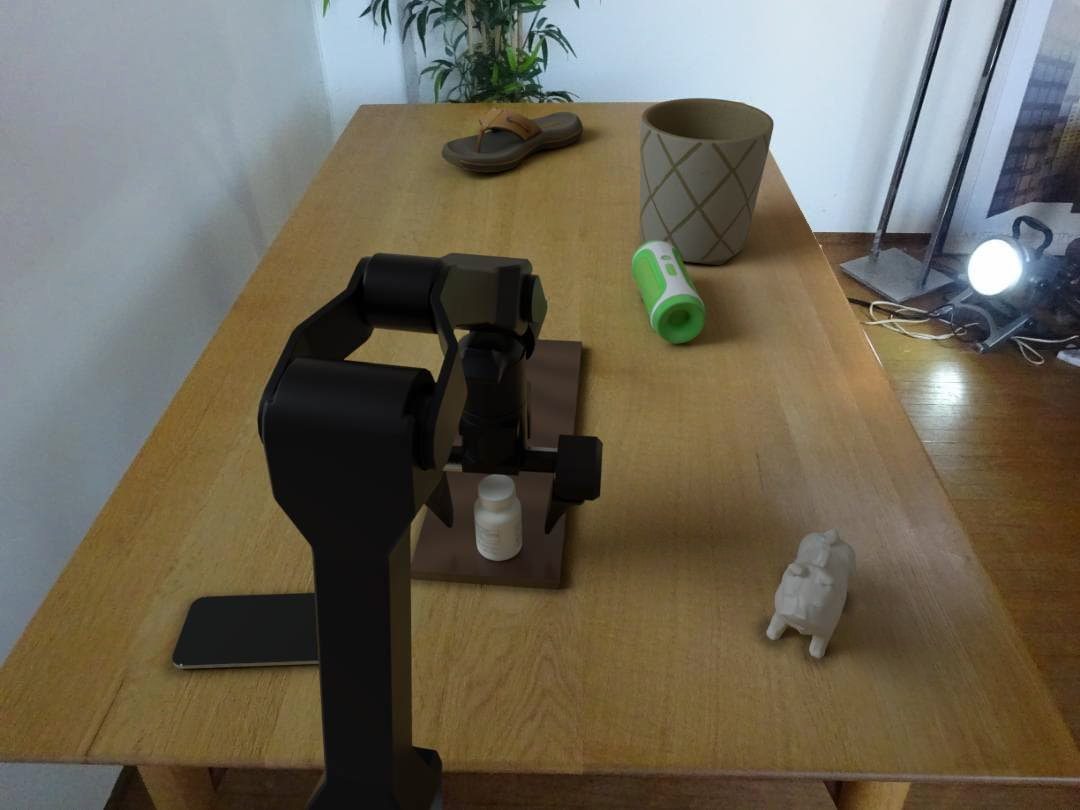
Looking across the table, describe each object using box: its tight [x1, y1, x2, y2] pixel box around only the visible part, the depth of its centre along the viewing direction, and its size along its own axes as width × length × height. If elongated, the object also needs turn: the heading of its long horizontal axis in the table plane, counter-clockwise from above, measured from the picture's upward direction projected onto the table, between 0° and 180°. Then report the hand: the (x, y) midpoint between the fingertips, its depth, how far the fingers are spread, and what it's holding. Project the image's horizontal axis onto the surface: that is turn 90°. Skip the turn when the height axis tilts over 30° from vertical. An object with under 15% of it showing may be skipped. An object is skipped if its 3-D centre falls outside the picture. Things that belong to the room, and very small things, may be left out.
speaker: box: [631, 240, 706, 345], centre depth 111 cm, size 18×7×8 cm, turn 5°
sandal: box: [441, 106, 584, 173], centre depth 158 cm, size 14×34×9 cm, turn 129°
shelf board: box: [411, 338, 583, 590], centre depth 91 cm, size 40×14×1 cm, turn 175°
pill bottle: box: [474, 474, 522, 561], centre depth 75 cm, size 4×4×8 cm
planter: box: [639, 97, 775, 266], centre depth 124 cm, size 19×19×20 cm
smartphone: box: [171, 592, 319, 670], centre depth 71 cm, size 7×1×15 cm
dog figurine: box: [766, 528, 857, 659], centre depth 68 cm, size 5×13×11 cm, turn 150°
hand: (498, 527), depth 76 cm, fingers open, 9 cm apart
